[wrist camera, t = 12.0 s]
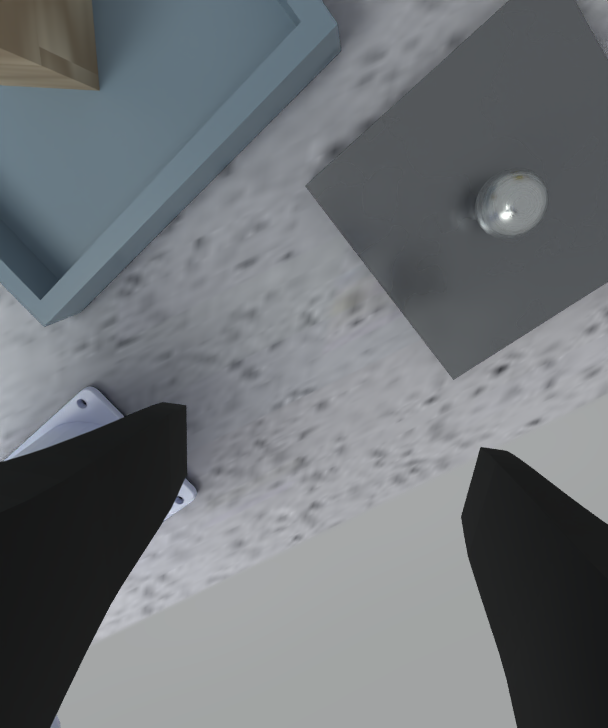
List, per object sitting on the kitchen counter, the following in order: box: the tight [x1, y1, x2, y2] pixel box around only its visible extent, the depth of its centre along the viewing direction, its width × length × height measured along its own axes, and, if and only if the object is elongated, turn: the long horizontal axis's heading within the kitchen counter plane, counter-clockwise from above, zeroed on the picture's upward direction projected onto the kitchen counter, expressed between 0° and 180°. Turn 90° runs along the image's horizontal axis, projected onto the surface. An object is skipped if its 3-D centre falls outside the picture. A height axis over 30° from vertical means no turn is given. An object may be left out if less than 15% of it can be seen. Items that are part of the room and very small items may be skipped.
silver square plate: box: [306, 0, 608, 380], centre depth 15 cm, size 10×10×4 cm
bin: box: [0, 0, 341, 327], centre depth 15 cm, size 16×16×2 cm
